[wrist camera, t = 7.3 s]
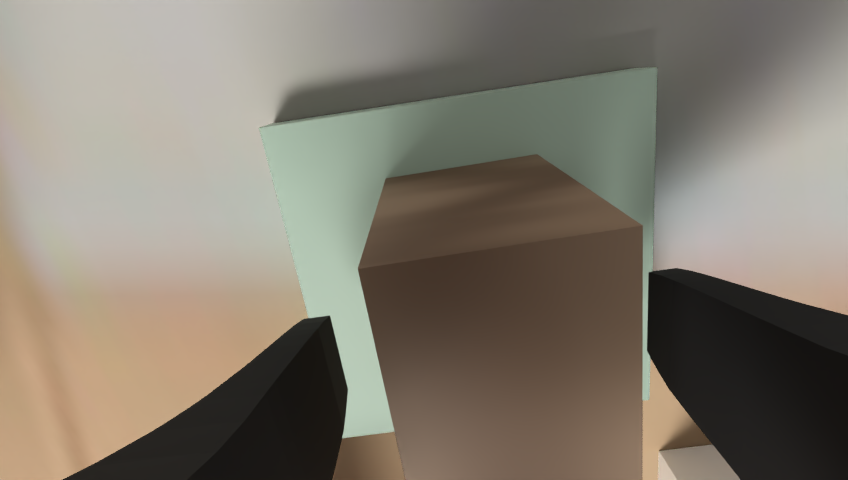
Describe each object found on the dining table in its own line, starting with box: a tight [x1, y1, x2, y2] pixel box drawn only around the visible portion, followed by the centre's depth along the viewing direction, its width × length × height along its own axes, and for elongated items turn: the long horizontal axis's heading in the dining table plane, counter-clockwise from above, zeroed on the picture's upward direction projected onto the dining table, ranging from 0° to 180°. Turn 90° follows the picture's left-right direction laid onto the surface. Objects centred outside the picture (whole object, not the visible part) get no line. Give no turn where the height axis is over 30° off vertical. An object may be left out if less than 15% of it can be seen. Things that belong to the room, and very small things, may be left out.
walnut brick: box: [358, 154, 643, 480], centre depth 10 cm, size 4×7×6 cm, turn 9°
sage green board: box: [259, 67, 657, 438], centre depth 14 cm, size 10×10×1 cm
